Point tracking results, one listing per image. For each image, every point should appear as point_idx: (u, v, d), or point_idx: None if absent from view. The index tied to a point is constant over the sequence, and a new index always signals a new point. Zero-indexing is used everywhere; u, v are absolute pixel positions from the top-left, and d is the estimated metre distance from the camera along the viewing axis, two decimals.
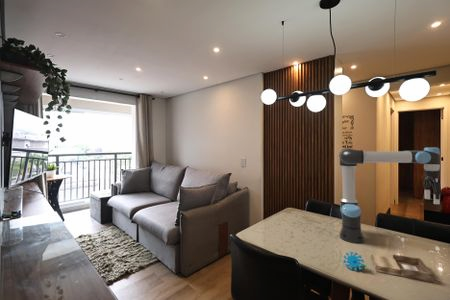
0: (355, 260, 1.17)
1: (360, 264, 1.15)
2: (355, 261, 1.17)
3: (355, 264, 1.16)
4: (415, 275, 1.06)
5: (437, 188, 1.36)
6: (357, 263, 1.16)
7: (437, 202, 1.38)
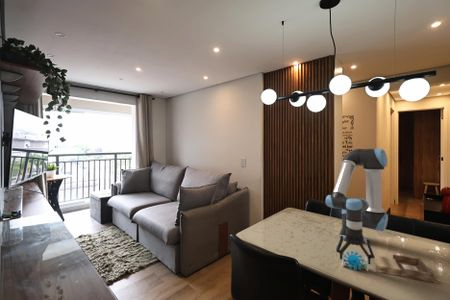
0: (355, 259, 1.17)
1: (360, 264, 1.15)
2: (355, 260, 1.17)
3: (355, 263, 1.16)
4: (415, 275, 1.06)
5: None
6: (357, 262, 1.16)
7: (342, 263, 1.20)
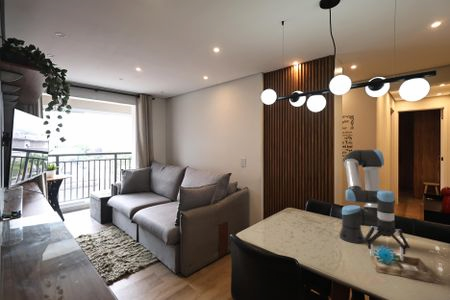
0: (386, 254, 1.18)
1: (392, 258, 1.16)
2: (386, 255, 1.18)
3: (386, 257, 1.17)
4: (415, 275, 1.06)
5: (366, 235, 1.22)
6: (389, 257, 1.17)
7: (370, 253, 1.21)
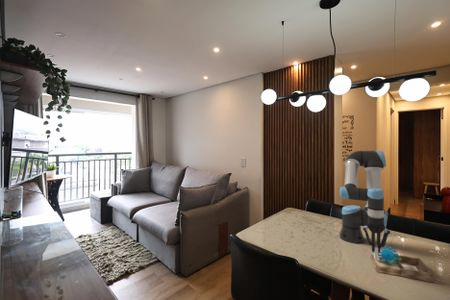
0: (389, 254, 1.17)
1: (394, 258, 1.15)
2: (389, 255, 1.17)
3: (389, 258, 1.16)
4: (415, 275, 1.06)
5: None
6: (391, 257, 1.16)
7: (374, 255, 1.20)
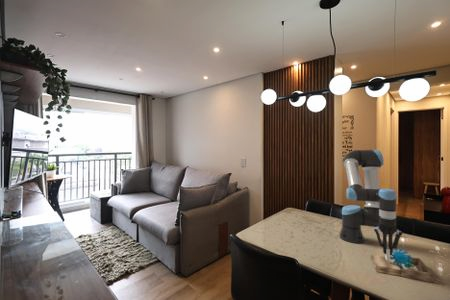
0: (403, 257, 1.15)
1: (407, 262, 1.13)
2: (402, 258, 1.15)
3: (401, 260, 1.14)
4: (415, 275, 1.06)
5: None
6: (404, 260, 1.14)
7: (386, 257, 1.18)
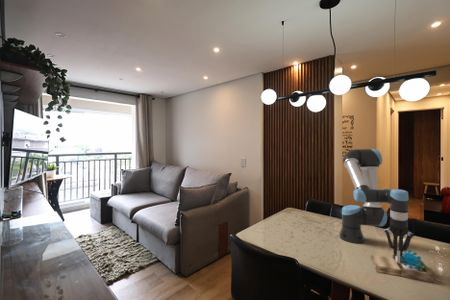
0: (413, 259, 1.13)
1: (417, 264, 1.11)
2: (412, 260, 1.13)
3: (412, 262, 1.12)
4: (415, 275, 1.06)
5: (388, 241, 1.17)
6: (414, 262, 1.12)
7: (396, 259, 1.16)
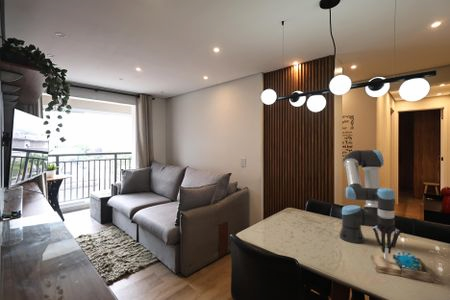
0: (408, 260, 1.14)
1: (414, 264, 1.12)
2: (408, 261, 1.14)
3: (409, 264, 1.13)
4: (415, 275, 1.06)
5: (376, 238, 1.20)
6: (411, 263, 1.13)
7: (384, 256, 1.18)
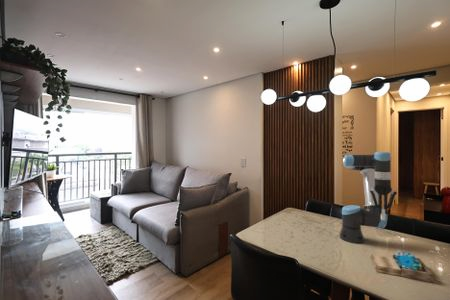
0: (408, 260, 1.14)
1: (414, 264, 1.12)
2: (408, 261, 1.14)
3: (409, 264, 1.13)
4: (415, 275, 1.06)
5: (373, 200, 1.25)
6: (411, 263, 1.13)
7: (381, 217, 1.23)
